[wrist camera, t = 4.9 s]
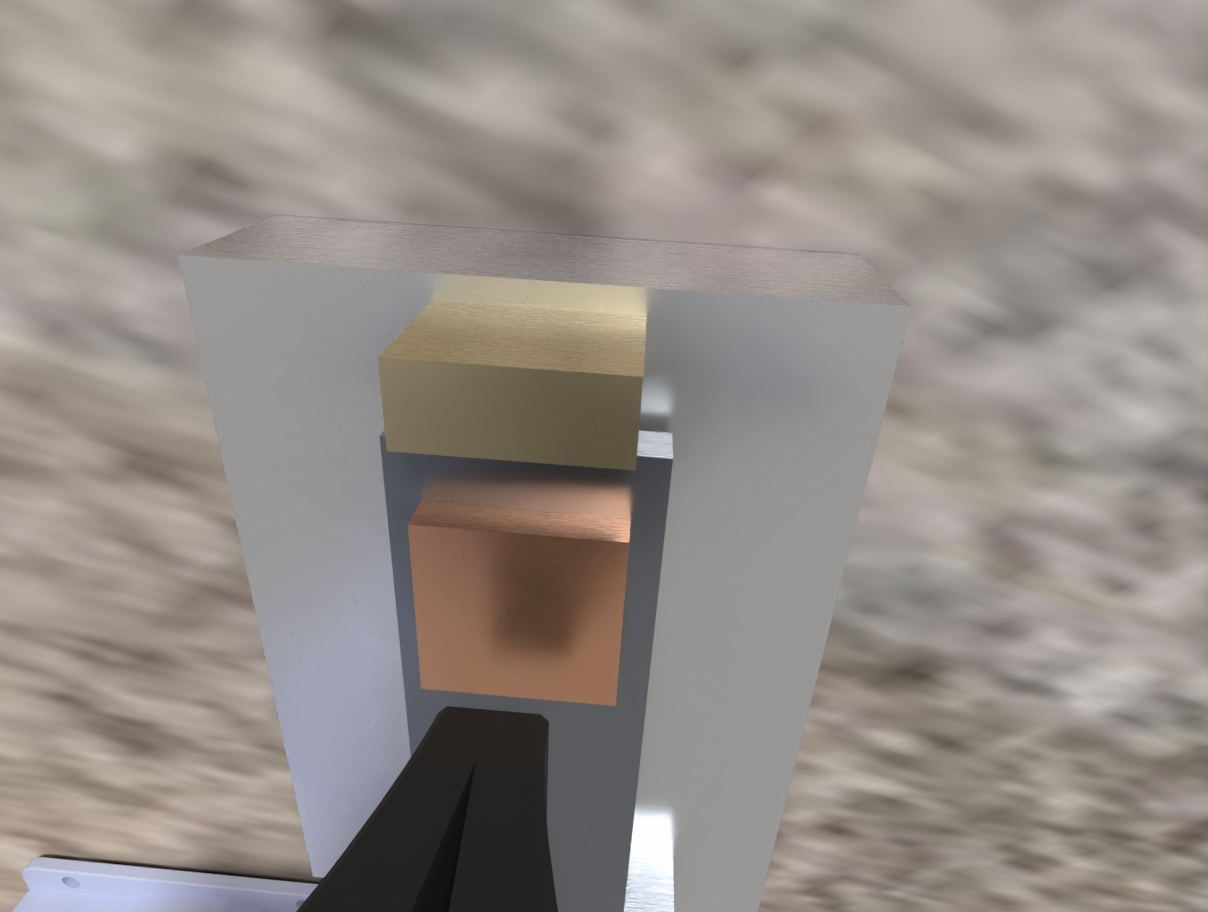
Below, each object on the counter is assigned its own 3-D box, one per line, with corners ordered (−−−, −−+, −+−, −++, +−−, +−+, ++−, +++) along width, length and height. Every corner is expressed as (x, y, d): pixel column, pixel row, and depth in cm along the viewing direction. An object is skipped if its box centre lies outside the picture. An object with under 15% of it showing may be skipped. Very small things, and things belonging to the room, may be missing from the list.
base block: (360, 766, 20) (267, 983, 15) (276, 214, 13) (66, 300, 8) (742, 801, 19) (768, 1034, 15) (858, 254, 13) (971, 366, 8)
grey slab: (437, 879, 16) (417, 948, 15) (398, 412, 11) (363, 456, 10) (622, 898, 16) (619, 968, 15) (672, 433, 11) (673, 480, 9)
